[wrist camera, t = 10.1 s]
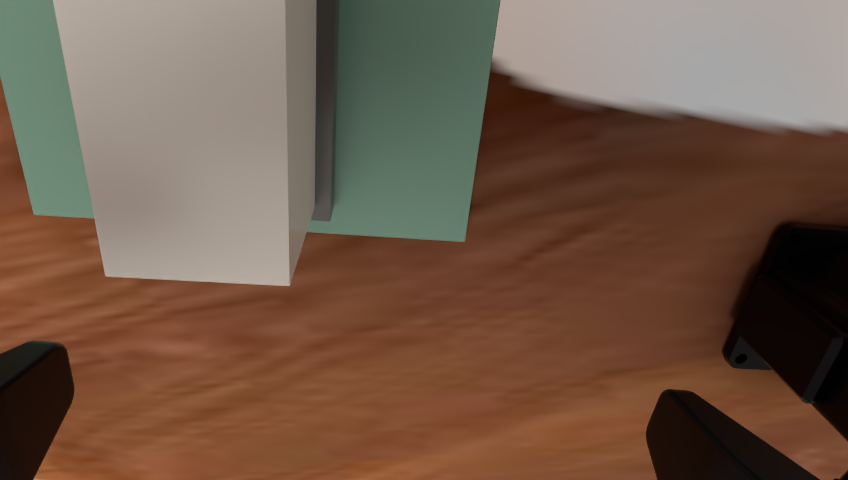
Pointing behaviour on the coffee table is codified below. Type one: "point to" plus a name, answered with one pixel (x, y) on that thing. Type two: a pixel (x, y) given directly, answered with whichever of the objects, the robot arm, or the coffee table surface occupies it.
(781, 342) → the robot arm
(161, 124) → the grey rectangular block
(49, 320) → the coffee table surface
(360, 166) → the board
